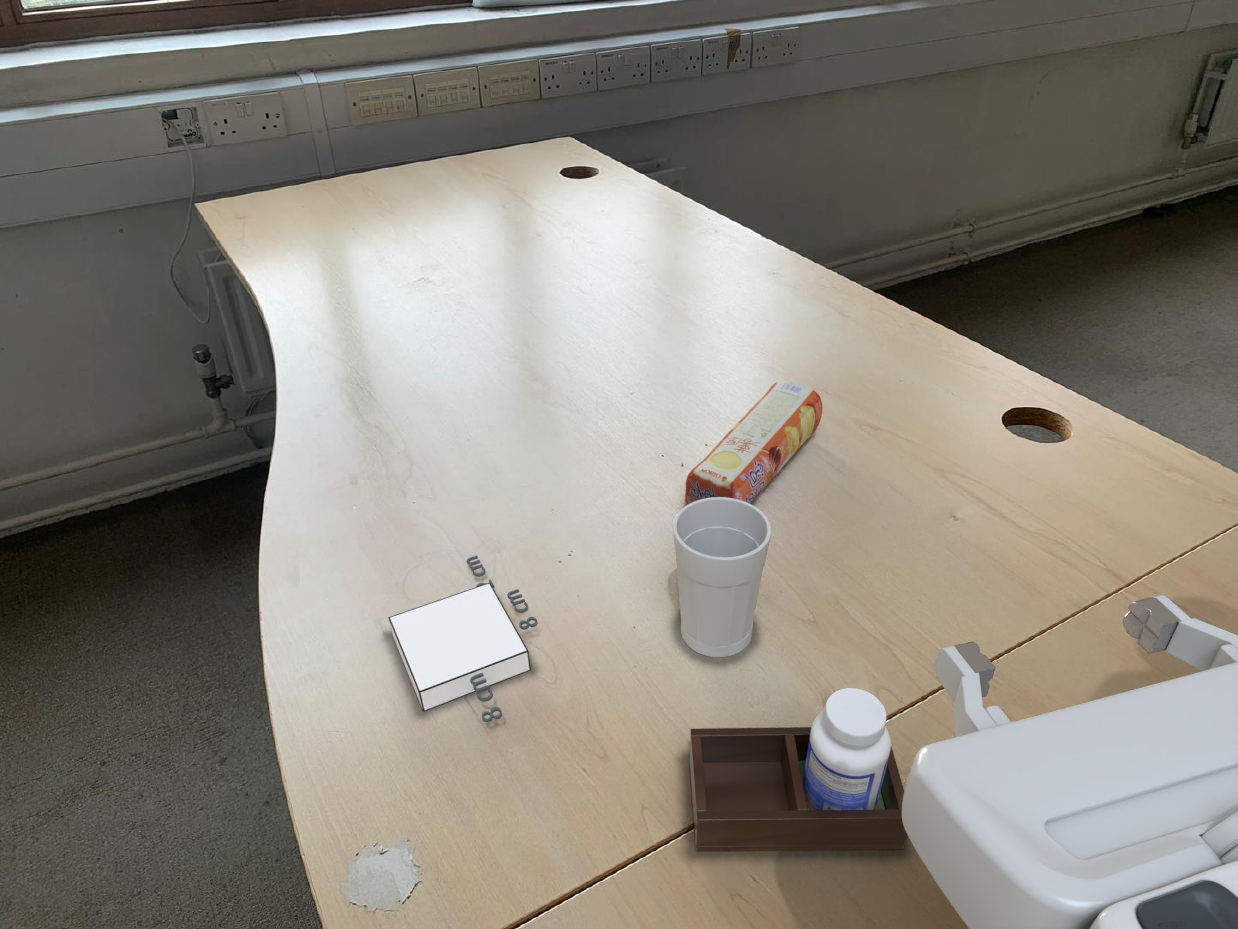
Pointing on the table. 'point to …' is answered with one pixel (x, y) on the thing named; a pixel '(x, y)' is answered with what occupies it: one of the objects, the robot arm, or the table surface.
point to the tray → (778, 797)
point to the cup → (719, 572)
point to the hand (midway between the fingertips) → (1047, 630)
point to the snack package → (757, 445)
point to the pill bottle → (847, 753)
